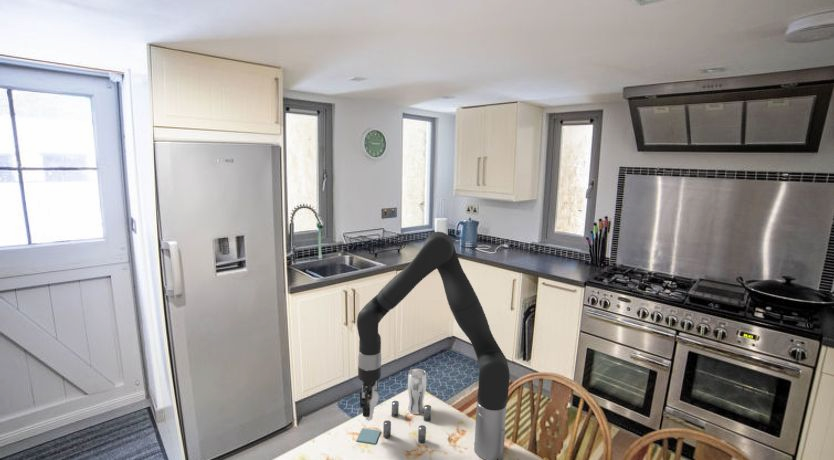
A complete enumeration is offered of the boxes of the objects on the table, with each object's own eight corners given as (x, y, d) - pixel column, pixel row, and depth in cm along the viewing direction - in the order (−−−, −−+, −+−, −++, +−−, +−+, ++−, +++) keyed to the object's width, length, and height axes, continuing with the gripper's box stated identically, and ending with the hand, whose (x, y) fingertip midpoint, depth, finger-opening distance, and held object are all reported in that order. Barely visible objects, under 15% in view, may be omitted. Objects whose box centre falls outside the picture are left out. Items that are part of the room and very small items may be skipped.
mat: (380, 431, 140) (380, 430, 140) (375, 444, 133) (375, 443, 133) (362, 429, 141) (362, 428, 141) (356, 441, 134) (356, 440, 134)
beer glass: (404, 406, 155) (405, 370, 152) (420, 402, 158) (421, 366, 155) (411, 417, 148) (412, 379, 146) (428, 412, 151) (429, 375, 149)
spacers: (431, 418, 148) (431, 405, 147) (424, 444, 134) (425, 430, 133) (392, 412, 151) (392, 400, 150) (382, 438, 137) (382, 424, 136)
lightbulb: (371, 428, 132) (371, 397, 130) (355, 422, 135) (356, 391, 133) (381, 418, 137) (382, 388, 136) (366, 412, 140) (366, 383, 138)
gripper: (365, 352, 141) (364, 397, 143) (351, 373, 127) (351, 422, 129) (386, 355, 139) (385, 400, 142) (374, 376, 125) (373, 425, 128)
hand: (369, 410), depth 136 cm, fingers closed on lightbulb, 5 cm apart
